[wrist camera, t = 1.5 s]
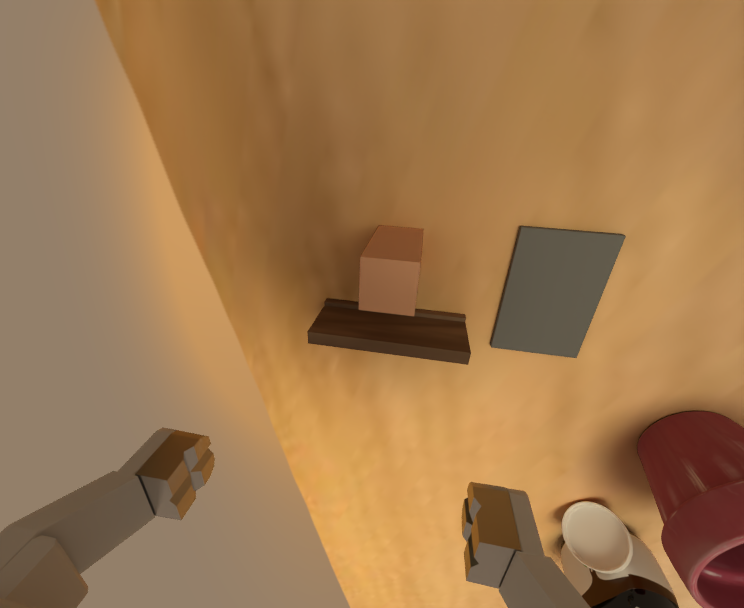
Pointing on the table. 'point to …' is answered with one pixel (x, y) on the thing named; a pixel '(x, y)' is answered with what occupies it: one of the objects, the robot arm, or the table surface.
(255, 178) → the table surface
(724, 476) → the plant pot
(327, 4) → the table surface
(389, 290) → the terracotta block
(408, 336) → the brown wooden stand
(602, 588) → the spread jar
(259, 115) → the table surface
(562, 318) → the charcoal mat
